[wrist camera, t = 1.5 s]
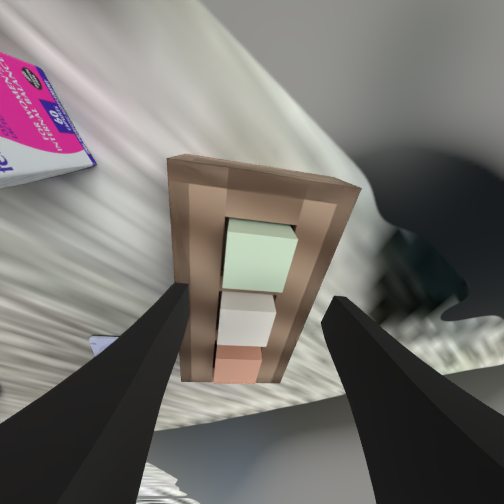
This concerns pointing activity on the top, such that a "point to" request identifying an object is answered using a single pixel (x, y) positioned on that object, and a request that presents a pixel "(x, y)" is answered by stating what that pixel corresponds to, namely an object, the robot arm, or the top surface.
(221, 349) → the terracotta key
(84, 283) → the top surface
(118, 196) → the top surface
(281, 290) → the sage key
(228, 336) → the cream key
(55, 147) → the supplement box
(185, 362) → the frame
